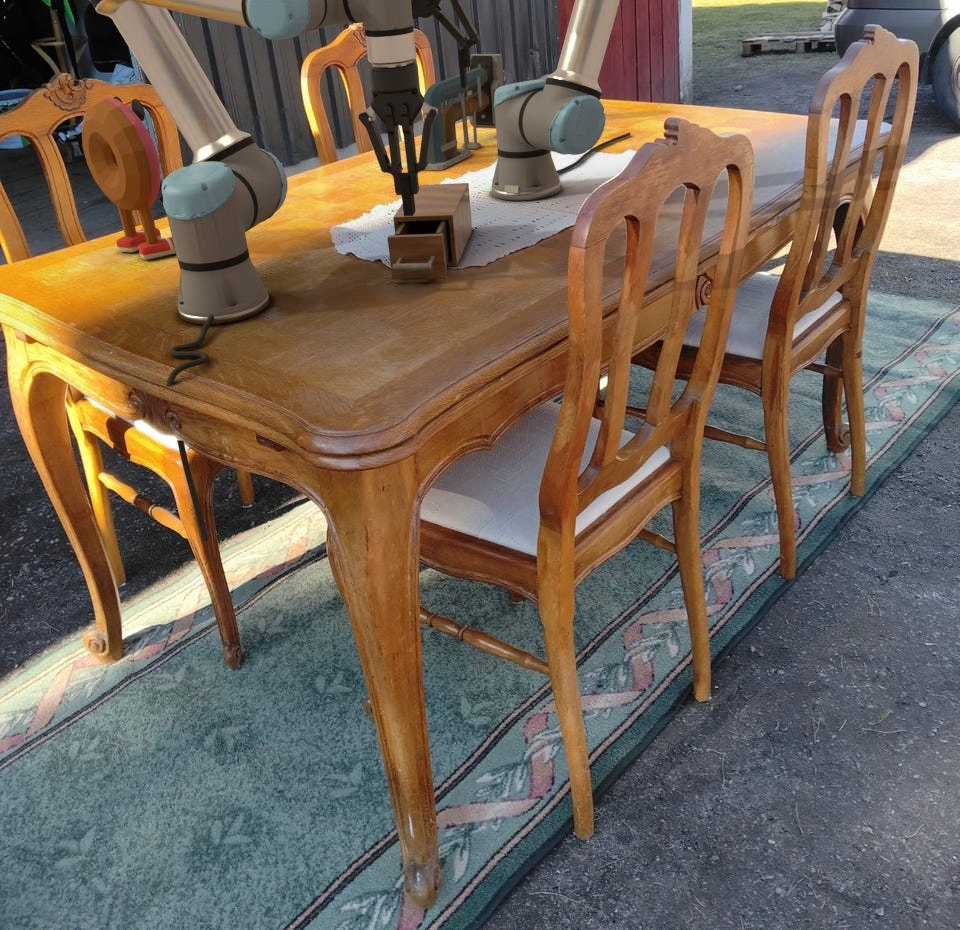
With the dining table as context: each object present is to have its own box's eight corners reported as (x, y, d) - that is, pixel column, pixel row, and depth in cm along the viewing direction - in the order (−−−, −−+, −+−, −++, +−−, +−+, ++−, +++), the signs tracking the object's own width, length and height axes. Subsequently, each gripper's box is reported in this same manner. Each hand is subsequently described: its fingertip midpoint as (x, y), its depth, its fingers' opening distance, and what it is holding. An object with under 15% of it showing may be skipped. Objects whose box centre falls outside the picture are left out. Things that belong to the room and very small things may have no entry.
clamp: (441, 170, 238) (433, 78, 227) (411, 168, 242) (401, 78, 231) (506, 137, 263) (501, 53, 253) (478, 136, 267) (472, 53, 257)
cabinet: (457, 266, 176) (452, 215, 172) (399, 267, 178) (393, 217, 173) (472, 229, 195) (468, 182, 190) (419, 231, 196) (414, 185, 191)
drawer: (441, 288, 164) (437, 245, 161) (386, 289, 166) (381, 246, 162) (462, 241, 186) (458, 201, 182) (413, 242, 187) (408, 203, 183)
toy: (201, 251, 195) (166, 95, 180) (157, 266, 189) (116, 105, 173) (147, 235, 208) (109, 88, 193) (104, 248, 202) (61, 97, 187)
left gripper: (438, 56, 152) (451, 205, 164) (357, 61, 154) (376, 208, 166) (430, 64, 146) (444, 218, 158) (346, 69, 148) (367, 221, 160)
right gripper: (489, -49, 168) (497, 81, 178) (349, -38, 171) (365, 89, 182) (484, -46, 161) (492, 88, 172) (339, -35, 165) (356, 96, 176)
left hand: (409, 213), depth 162 cm, fingers closed
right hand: (427, 89), depth 177 cm, fingers open, 13 cm apart
